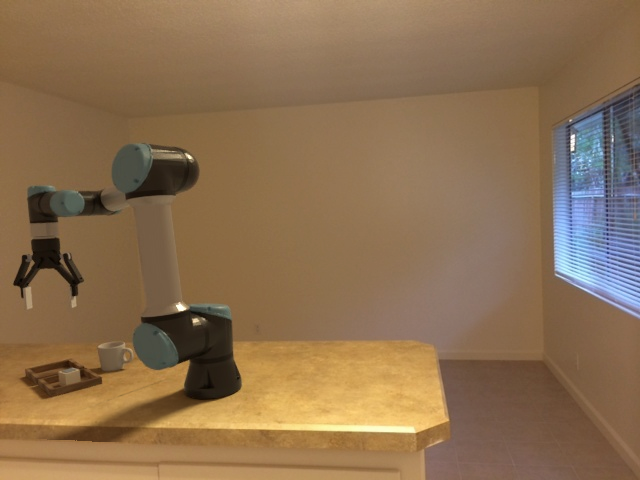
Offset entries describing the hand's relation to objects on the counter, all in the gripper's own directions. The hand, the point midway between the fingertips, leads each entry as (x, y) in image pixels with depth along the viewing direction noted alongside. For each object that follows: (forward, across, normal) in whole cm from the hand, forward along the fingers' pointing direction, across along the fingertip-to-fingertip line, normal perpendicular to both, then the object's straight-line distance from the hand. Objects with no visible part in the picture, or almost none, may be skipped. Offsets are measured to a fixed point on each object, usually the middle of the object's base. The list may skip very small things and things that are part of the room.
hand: (50, 308), depth 149 cm
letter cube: (+20, -10, +10) cm, 25 cm away
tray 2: (+21, -10, +10) cm, 25 cm away
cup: (+21, -17, -4) cm, 27 cm away
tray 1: (+21, 0, 0) cm, 21 cm away
